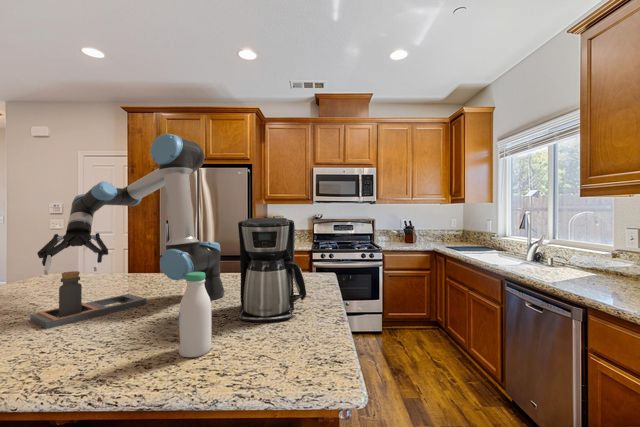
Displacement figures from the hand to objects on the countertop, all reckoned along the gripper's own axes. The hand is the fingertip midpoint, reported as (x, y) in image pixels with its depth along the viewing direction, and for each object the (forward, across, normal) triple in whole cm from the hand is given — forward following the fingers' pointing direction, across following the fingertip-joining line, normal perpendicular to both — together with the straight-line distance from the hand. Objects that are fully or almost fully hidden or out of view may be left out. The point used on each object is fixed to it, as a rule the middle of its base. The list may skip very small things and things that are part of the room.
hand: (71, 271), depth 107 cm
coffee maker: (+32, -64, +10) cm, 73 cm away
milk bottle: (+48, -34, +27) cm, 65 cm away
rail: (+12, -7, -8) cm, 16 cm away
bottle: (+15, -1, -6) cm, 16 cm away
